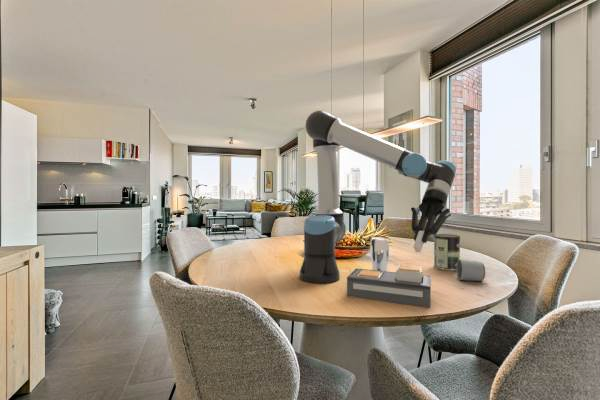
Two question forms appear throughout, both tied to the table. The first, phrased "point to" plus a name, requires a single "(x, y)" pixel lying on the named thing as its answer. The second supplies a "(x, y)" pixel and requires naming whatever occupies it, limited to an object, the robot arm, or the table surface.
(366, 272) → the left switch
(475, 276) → the grey cylinder
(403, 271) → the right switch
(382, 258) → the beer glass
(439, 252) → the coffee can
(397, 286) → the switch console
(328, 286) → the table surface
